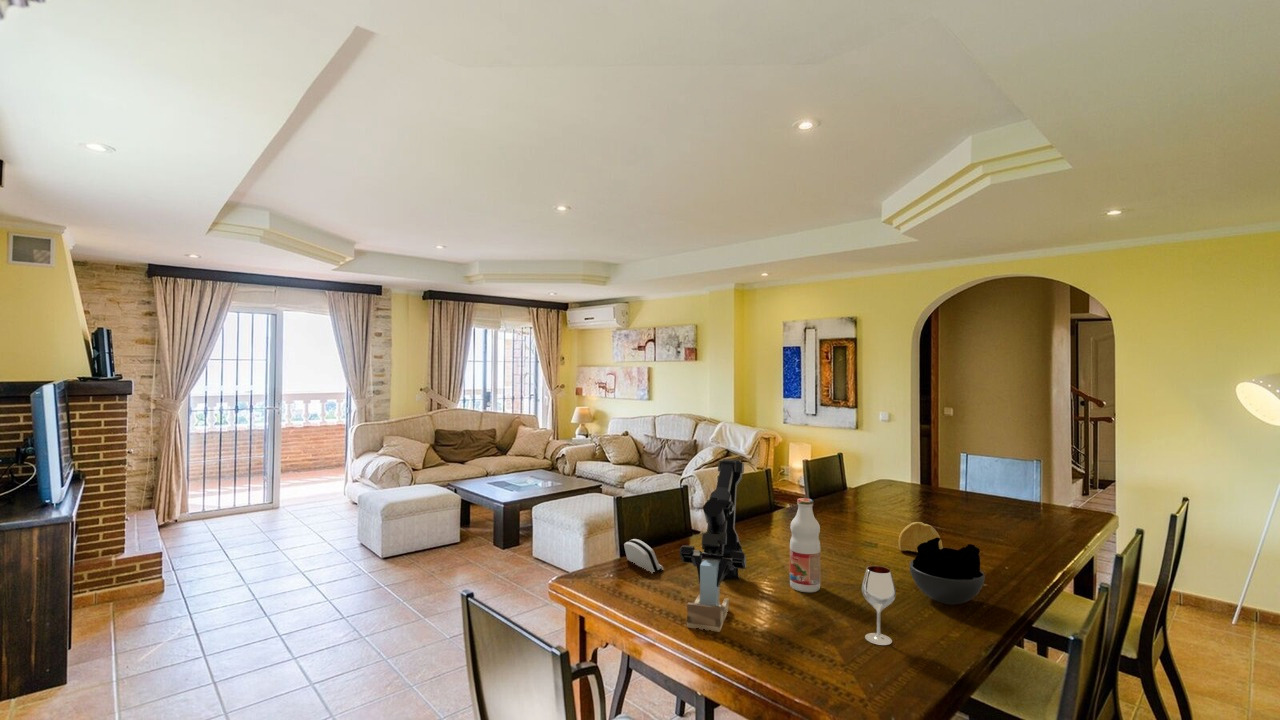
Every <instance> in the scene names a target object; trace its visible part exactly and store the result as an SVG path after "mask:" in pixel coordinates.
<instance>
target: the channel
mask: <svg viewBox="0 0 1280 720" xmlns="http://www.w3.org/2000/svg"><path fill="white" fill-rule="evenodd" d="M729 600H730V598H725V597H724V599H723V601H722V603H721V604H719V606H712V605H704V604H700V594H698V595H697V597H695V600H694V602H687V604H686V627H687V628H689V629H696V628H699V629H698V630H703V629H705V630H704V631H709V630H711V631H710V632H718V633H720V632H721V630H722V628H723V625H724V623H725V620H726V618H727V614H728V613H727V612H729V610H730V609H729V607H730V605H729V603H730V601H729Z"/></svg>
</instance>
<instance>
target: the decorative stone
mask: <svg viewBox="0 0 1280 720" xmlns="http://www.w3.org/2000/svg"><path fill="white" fill-rule="evenodd" d="M934 538H941V536H940V535H939V533H938V531H937V530H936V528H934V527H933V526H932V525H930V524H928V523H924V522H922V521H914V522H911V523H909V524H908V525H906V526H905V527H904V528H903V529H902V530H901V532H900V534H899V536H898V543H897V544H898V548H899V551H900V552H903V551H907V552H914V553H917V554H918V550H917V547H918V546H919V545H920V544H921V543H925V542H928V540H932V539H934ZM942 548H944V547H943V542H942V538H941V539H940V541H939V549H942Z"/></svg>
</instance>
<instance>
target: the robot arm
mask: <svg viewBox="0 0 1280 720" xmlns="http://www.w3.org/2000/svg"><path fill="white" fill-rule="evenodd" d="M717 463H718V464H717V472H718V473H719V474H718V478H717V482H716V487H715V489H714V490H713V491H712V492H711V493H710V496H709V499H707V501H706V502H705V503H704V504H703V506H702V509H703V513H704V518H705V522H706V524H707V527H706V531H705V532H702V534H701V543H700V545H701V548H702V550H703V551H700V550H696V549H695V545H694V546H692V545H684V544H682V546H680V548H679V552H678V553H679V557H680V560H681V562H682V563H685V564H692V565H693V567H696V570H697V576H698V583H699V584H700V565H701V563H702V561H703V560H704V559H705V560H714V561H719V573H718V578H717V587H719V588H720V585H721V583H722V582H723V580H740V579H741V578H740V575H739V570H740V569H741V570H744V569H746V568H747V558H746V554H745V552H744V551H743V547H742V545H741V542H740V539H739V535H738V533H737V531H736V529H735V527H736V526H735V524H736V511H737V510H736V507H737V488H738V485H739V483H741V481H742V480H743V474H745V473H744V472H745V463H744V462H742V460H741V459H734V458H733V459H731V458H723V459H722V460H718V461H717Z"/></svg>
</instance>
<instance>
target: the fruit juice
mask: <svg viewBox="0 0 1280 720" xmlns="http://www.w3.org/2000/svg"><path fill="white" fill-rule="evenodd" d="M796 500H797V501H796V504H797V512H796V513H795V516H794V517H793V519H792V521H790V532H791V537H790V541H789V586H790V587H791V589H793V590H795V591H797V592H802V593H816V592H818V591H819V590H820V589H821V541H820V539H819V536H820V532H821V527H820V524H819V522H818V520H817V518H815V516H814V511H813V506H814V500H813V499H811V498H806V497H804V498H803V497H800V498H797V499H796Z"/></svg>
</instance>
